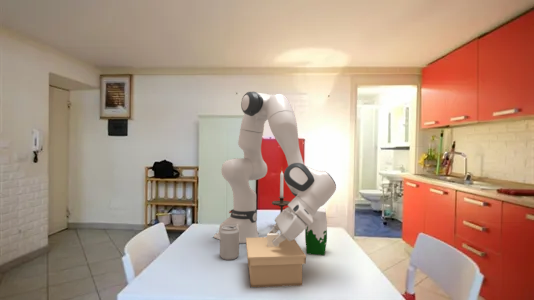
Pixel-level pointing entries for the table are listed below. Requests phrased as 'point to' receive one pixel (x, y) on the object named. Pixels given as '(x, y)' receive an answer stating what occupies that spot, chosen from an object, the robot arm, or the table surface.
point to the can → (229, 242)
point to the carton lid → (273, 251)
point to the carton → (275, 275)
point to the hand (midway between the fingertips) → (271, 239)
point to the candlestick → (281, 195)
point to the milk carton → (317, 234)
